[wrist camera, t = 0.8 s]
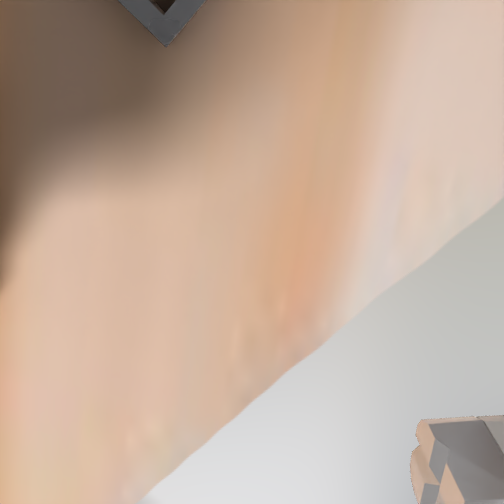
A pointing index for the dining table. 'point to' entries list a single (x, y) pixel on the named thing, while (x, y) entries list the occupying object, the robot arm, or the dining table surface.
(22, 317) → the dining table surface
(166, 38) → the socket block
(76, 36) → the dining table surface
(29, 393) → the dining table surface
